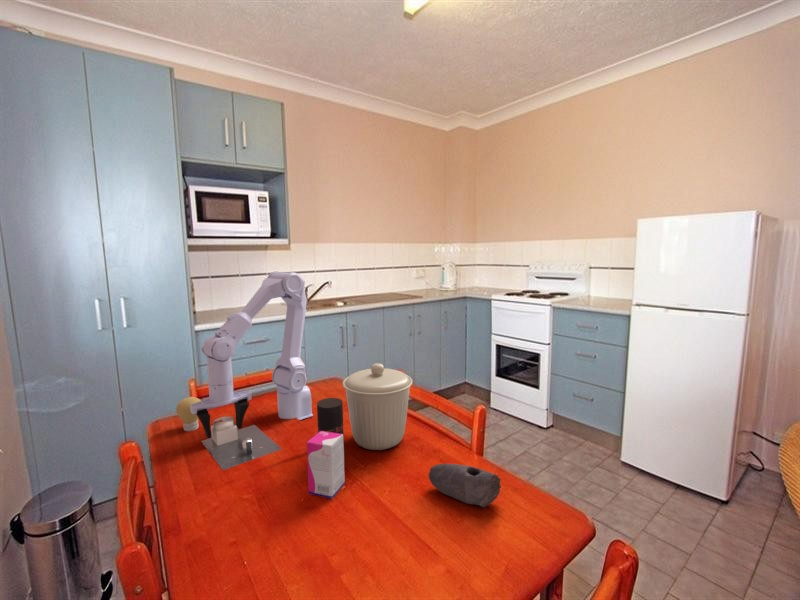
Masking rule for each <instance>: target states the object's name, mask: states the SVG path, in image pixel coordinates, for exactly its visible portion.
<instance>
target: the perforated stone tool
mask: <svg viewBox="0 0 800 600" xmlns="http://www.w3.org/2000/svg"><path fill="white" fill-rule="evenodd" d="M428 479H429V482H430V483H431V484H432V486H433V487H434V488H435V489H436V490H437V491H439V492H440V493H442V494H443V495H446V496H448V497H452V498H453V499H455V500H457V501H460V502H461V503H464V504H467V505H476V506H479V507H481V508H483V509H484V508H486V507H487V506H489V505H490V504H492V503H493V502H494V501H495V500H496V499H497V498H498V496H499V494H500V490H501V488H502V486H501V477H499V476H498V475H497V474H496V473H492V472H490V471H486V470H485V469H481V468H478V467H475V466H470V465H465V464H458V463H457V464H456V463H439V464H435V465H433V466H431V467H430V469H429V472H428Z"/></svg>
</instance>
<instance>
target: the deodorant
mask: <svg viewBox="0 0 800 600" xmlns="http://www.w3.org/2000/svg"><path fill="white" fill-rule="evenodd" d="M316 411H317V412H316V413H317V414H316V415H317V417H316V419H317V434H318V433H319V432H320V431H325V432H331V433H338V434H343V444H344V445H345V442H344V440H345V439H344V406H343V400H342V399H340V398H337V397H327V398H322V399H320V400H318V401H317V403H316Z"/></svg>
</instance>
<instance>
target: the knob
mask: <svg viewBox="0 0 800 600" xmlns="http://www.w3.org/2000/svg"><path fill="white" fill-rule="evenodd" d="M237 430H238V428H237V426H236V423H235V419H234V417H233V416H221V417H218V418H216V419H214V420H213V421H212V425H210V431H211V438H212V439H213V441H214V442H215V443H216V444H217V445H222V444H225V443H228V442H231V441H234V440H237V439H238V434H237Z"/></svg>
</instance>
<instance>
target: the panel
mask: <svg viewBox="0 0 800 600" xmlns="http://www.w3.org/2000/svg"><path fill="white" fill-rule="evenodd" d="M237 434H238V439H237V440H234V441H231V442H228V443H225V444H222V445H217V444H216V443H215V442H214V441H213V439H212V437H211V438H207V439H203V440H201V441H200V442H201V443H202V444H203V446H204V447H205V448H206V450H207V451H208V452H209V454H210V455H211V456H212V458H213V459H214V461H215V462H216V463H217V465H218V466H219V467H220V469H221V470H222V471H226V470H228V469H230V468H234V467H236V466H239V465H242V464H244V463H247V462H251V461H253V460H255V459H259V458H261V457H264V456H267V455H269V454H273V453H274V452H278V451H281V450H282V448H281V447H280V446H279V445H278V444H277V442H275V441H274V440H273V439H271V438H270V437H269V436H268V435H267V434H265V433H264V432H263V431H262V430H261V429H260V428H259V427H258V426H257V425H255V424H252V425H249V426H246V427H242V428H241V429H237Z"/></svg>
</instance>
